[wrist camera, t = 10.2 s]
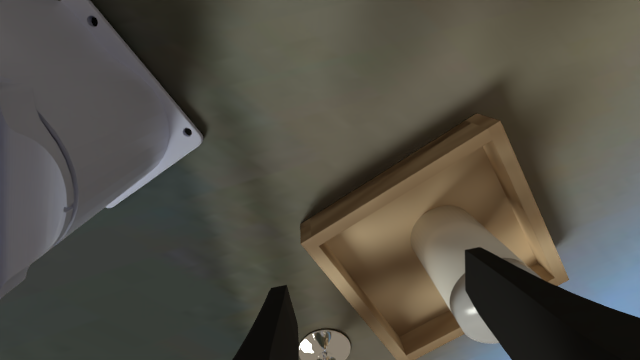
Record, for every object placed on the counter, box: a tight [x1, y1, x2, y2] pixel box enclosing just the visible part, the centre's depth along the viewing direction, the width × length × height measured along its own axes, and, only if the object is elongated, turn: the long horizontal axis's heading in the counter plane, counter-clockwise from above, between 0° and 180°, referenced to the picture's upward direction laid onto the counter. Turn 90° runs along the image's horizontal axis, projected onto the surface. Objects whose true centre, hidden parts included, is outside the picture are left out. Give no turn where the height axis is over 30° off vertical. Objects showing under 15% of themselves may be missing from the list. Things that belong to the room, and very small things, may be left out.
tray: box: [300, 113, 569, 360], centre depth 22 cm, size 14×14×2 cm
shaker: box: [411, 205, 542, 343], centre depth 19 cm, size 5×5×7 cm
